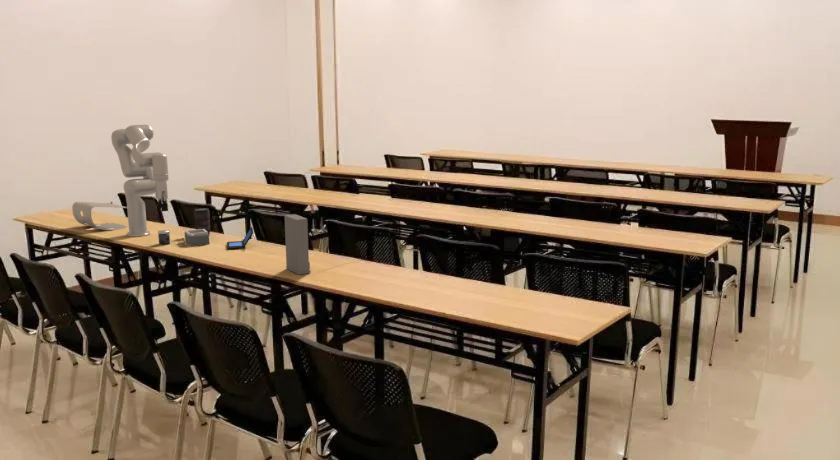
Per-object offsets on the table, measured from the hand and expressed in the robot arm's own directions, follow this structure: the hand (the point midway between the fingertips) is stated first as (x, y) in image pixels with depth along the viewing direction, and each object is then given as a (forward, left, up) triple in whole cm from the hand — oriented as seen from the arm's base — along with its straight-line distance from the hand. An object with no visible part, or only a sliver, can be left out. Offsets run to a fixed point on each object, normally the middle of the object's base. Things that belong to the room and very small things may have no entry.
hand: (163, 209), depth 380 cm
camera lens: (-13, +22, -19) cm, 32 cm away
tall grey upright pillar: (+90, +43, -19) cm, 102 cm away
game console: (+25, +33, -19) cm, 46 cm away
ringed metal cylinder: (0, -1, -18) cm, 19 cm away
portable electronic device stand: (-66, -25, -19) cm, 73 cm away
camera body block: (+5, +15, -18) cm, 25 cm away
